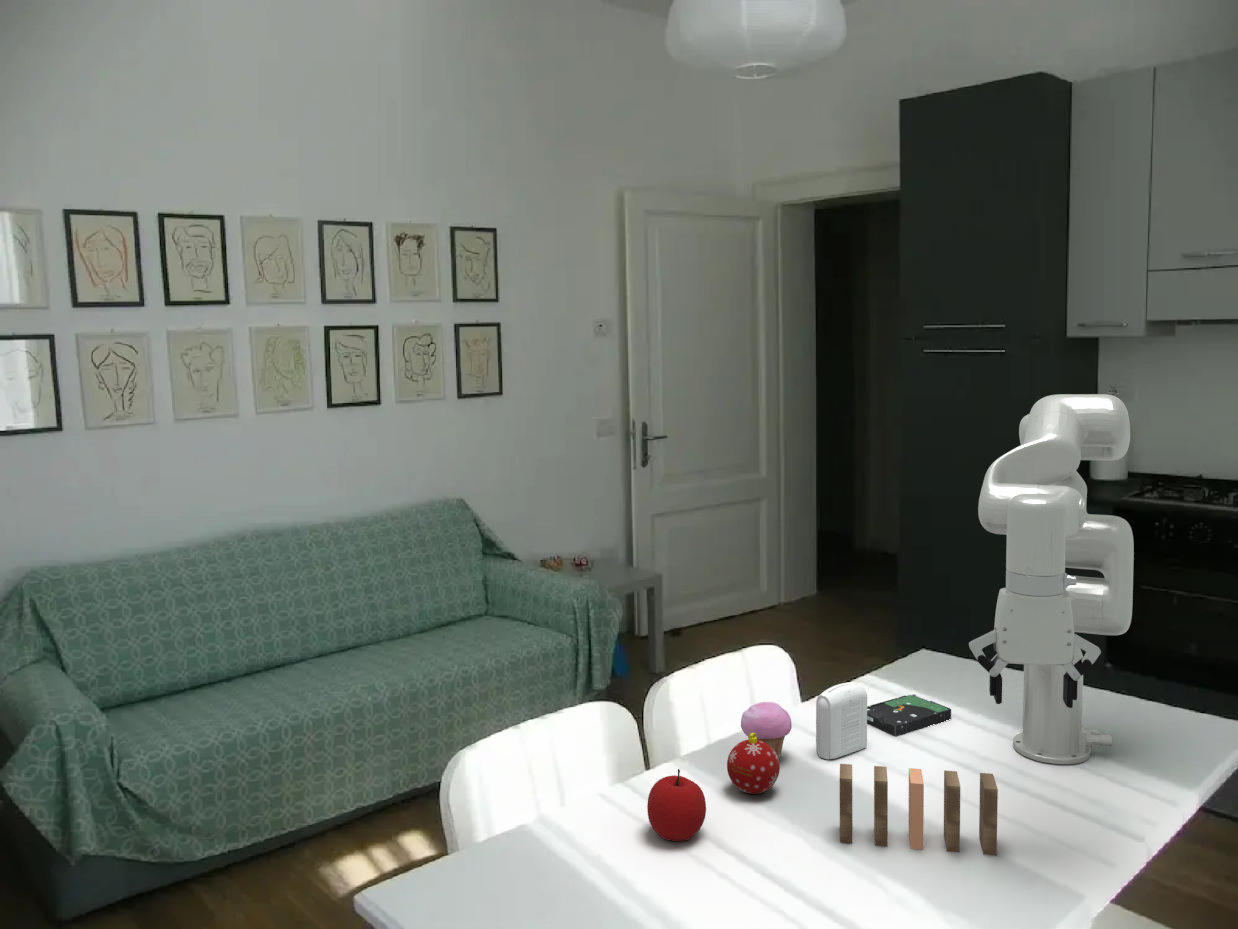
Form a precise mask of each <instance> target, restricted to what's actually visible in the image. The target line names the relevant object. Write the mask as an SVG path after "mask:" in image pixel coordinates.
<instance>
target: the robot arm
mask: <svg viewBox="0 0 1238 929" xmlns="http://www.w3.org/2000/svg"><path fill="white" fill-rule="evenodd" d="M1130 424H1131V422H1130V417H1129V412H1128V409H1127V407H1126V405H1125V403H1124V401H1122V399H1120V398H1119V397H1117V396H1115V395H1112V394H1102V393H1097V394H1095V393H1092V394H1088V393H1087V394H1086V393H1084V394H1083V393H1082V394H1079V393H1077V394H1070V393H1069V394H1068V393H1067V394H1065V393H1064V394H1063V393H1062V394H1061V393H1060V394H1051V395H1047V396H1044V397H1042V398H1040V399H1039V400H1037V401H1036V402H1035V403H1034V404H1033V406H1032V407H1031V409H1030V412H1029V413H1028V414H1027V415H1024V416H1023V417H1022V419H1021V420H1020V423H1019V427H1018V428H1019V429H1018V436H1019V443H1020V445H1018V446H1017V447H1014V448H1013V449H1011V450H1009V451H1008V452H1006V453H1004V454H1003V455H1001V456H999V457H998V458H997V459H996V460H994V461H993V462H992V463H991V465H990V466H989V467H988V469H987V471H986V473H985V475H984V478H983V482H982V486H981V490H980V494H979V498H978V506H977V510H978V511H977V512H978V513H977V514H978V519H979V522H980V524H981V526H982V528H984V530H986V531H987V532H989V533H992V534H995V535H1005V536H1006V548H1005V549H1006V551H1005V553H1006V554H1005V555H1006V556H1005V560H1006V563H1005V568H1006V569H1005V587H1003V588H1000V589H999V592H998V596H997V602H996V607H995V616H994V626H993V628H994V629H993V630H991V631H989V632H987V633H985V634H983V635H981V636H979V637H977V638H975V639H972V640H971V641H969V642H968V646H969V649H970V651H971V652H972V654H973V656H974V658H975V659H976V660H977V663H978V664H979V665H981V667H982V668H983V669H984V670H985V671H986V672H987V673H988V674H989V696H990V697H993V698H994V701H995V704H996V705H1001V704H1003V676H1002V674H1001V672H1002V671H1003V670H1004V669H1005V668H1006V666H1008V664H1011V665H1012V664H1013V665H1015V664H1016V665H1023V692H1022V693H1023V694H1022V695H1023V699H1022V704H1023V705H1022V731H1021V732H1019V733H1017V734H1016V735H1015V736H1014V737H1013V738H1012V746H1013V748H1014V750H1015V751H1017V752H1018V753H1019V754H1020V755H1022V756H1024V757H1026V758H1028V759H1030V760H1034V761H1037V762H1042V763H1047V764H1053V765H1073V764H1075V765H1076V764H1080V763H1082V762H1083V763H1084V762H1085V761H1087V760H1089V758H1090V757H1091V754H1092V748H1091V747H1093V746H1100V747H1111V746H1113V745H1112V744H1113V742H1112V741H1113V740H1112V736H1111V734H1101V731H1100V730H1096V729H1095V730H1094V729H1091V730H1087V729H1086V728H1085V727H1084V726H1083V698H1084V697H1083V696H1084V695H1083V694H1084V693H1083V692H1084V675H1085V674H1086V673H1087V672H1088V671H1089V670H1090V669H1091V668H1092V667H1093V664H1094V663H1095V662H1096V661H1097V659H1098V658H1099V656H1100V655H1101V653H1102V651H1101V649H1100V647H1099V646H1098V645H1095V644H1094V643H1092V642H1090V641H1089V640H1087V639H1085V638H1083V637H1081V636H1079V635H1078V634H1077V633H1079V634H1081V633H1083V634H1092V635H1104V636H1120V635H1123V634H1125V633H1126V632H1127V631H1128V630H1129V628H1130V626H1131V623H1132V618H1133V617H1132V616H1133V603H1134V602H1133V600H1134V599H1133V596H1134V595H1133V594H1134V592H1133V591H1134V560H1135V557H1134V555H1135V552H1134V550H1135V548H1134V546H1135V545H1134V544H1135V543H1134V535H1133V530H1132V527H1131V525H1130V524H1129V522H1128V520H1126V519H1125V518H1122V517H1121V516H1117V515H1109V514H1090V513H1088V511H1087V498H1088V496H1087V495H1088V486H1087V484H1086V481H1085V480H1084V479H1083V477H1082V476H1081V474H1079V472H1078V471H1077V470H1078V468H1079V466H1080V463H1081V461H1103V462H1105V461H1107V462H1108V461H1110V462H1111V461H1112V462H1113V461H1119V460H1120V459H1122V458H1123V457H1125V455H1126V454H1127V452H1128V450H1129V446H1130V443H1131V425H1130ZM1066 568H1068V569H1078V570H1079V569H1080V570H1092V571H1094V570H1095V571H1098V572H1100V573H1102V575H1103V576H1104V577H1094V576H1093V577H1091V576H1090V577H1089V576H1079V575H1071V574H1068V573H1067V572H1066ZM992 644H993V650H994V651H995V652H996V654H995V655H994V656H993V657H992V658H991V659H990V658H989V657H988V656H987V655H986V654H985V653H984V652H983V649H984V648H986V647H988V646H989V645H992ZM1082 651H1084V652H1085V654H1083V653H1082ZM1083 655H1084V656H1083Z"/></svg>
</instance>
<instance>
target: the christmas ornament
mask: <svg viewBox="0 0 1238 929" xmlns="http://www.w3.org/2000/svg"><path fill="white" fill-rule="evenodd" d="M753 734H754V736H752V735H753ZM780 767H781V766H780V760H779V759H778V757H777V755H776V753H775V751H774V750H773V749H772V748H771V747H770V746H769V745H768V744H767V743H765V742H763V741H760V740H757V737H756V734H755V733H750V735H749V738H748V739H745V740H742V741H740V742H738V743H737V744H736V745H735V746H734V747H732V749H731V750H730V752H729V754H728V756H727V760H726V769H727V770H726V771H727V773H728V774H727V775H728V777H729V779H730V781H731V783H732V784H733V786H735V787H736V788H737V789H739V790H740V791H742V792H744V793H747V794H750V795H752V794H753V795H756V794H757V795H758V794H762V793H764V792H767V791H769V790H770V789H771V788H772V787H773V786H774V785H775V784H776V782H777V780H778V778H779V775H780Z"/></svg>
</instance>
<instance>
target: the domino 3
mask: <svg viewBox="0 0 1238 929" xmlns="http://www.w3.org/2000/svg"><path fill="white" fill-rule="evenodd" d="M923 776H924V775H923V770H922V768H912V767H909V768H908V840H909V846H910V849H911V850H912V849H913V850H924V825H925V824H924V822H925V820H924V806H925V805H924V804H925V803H924V795H925V794H924V793H925V792H924V789H925V788H924V787H925V785H924V783H925V782H924V777H923Z"/></svg>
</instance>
